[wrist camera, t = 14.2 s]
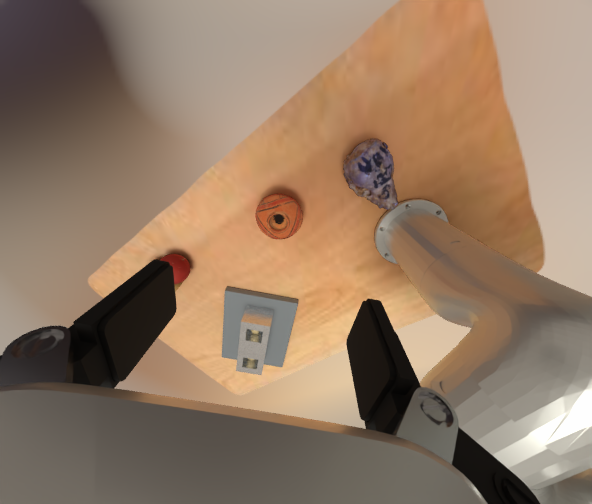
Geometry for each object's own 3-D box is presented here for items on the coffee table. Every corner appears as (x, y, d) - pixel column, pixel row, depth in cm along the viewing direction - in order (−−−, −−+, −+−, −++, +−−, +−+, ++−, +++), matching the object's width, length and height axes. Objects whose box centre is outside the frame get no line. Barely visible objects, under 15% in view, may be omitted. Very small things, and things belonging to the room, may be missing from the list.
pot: (264, 181, 37) (267, 192, 32) (304, 197, 40) (313, 210, 34) (249, 221, 40) (249, 238, 35) (287, 234, 43) (293, 251, 38)
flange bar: (265, 356, 56) (261, 375, 51) (241, 352, 56) (236, 370, 51) (273, 309, 49) (270, 326, 44) (247, 304, 48) (241, 321, 44)
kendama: (158, 301, 53) (204, 272, 46) (134, 318, 48) (182, 288, 40) (137, 276, 52) (181, 241, 44) (109, 290, 46) (154, 254, 38)
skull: (404, 197, 38) (420, 206, 32) (362, 218, 40) (370, 230, 34) (379, 128, 33) (393, 126, 28) (333, 155, 35) (338, 158, 30)
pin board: (298, 299, 49) (297, 315, 44) (282, 362, 59) (280, 380, 54) (227, 286, 48) (219, 301, 44) (223, 352, 58) (216, 369, 54)
